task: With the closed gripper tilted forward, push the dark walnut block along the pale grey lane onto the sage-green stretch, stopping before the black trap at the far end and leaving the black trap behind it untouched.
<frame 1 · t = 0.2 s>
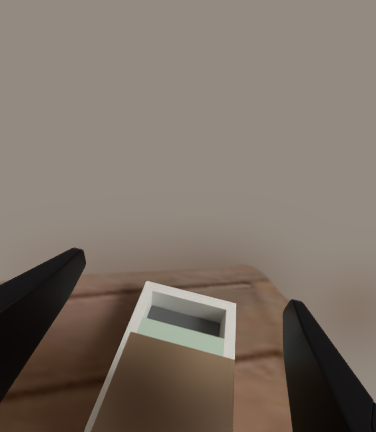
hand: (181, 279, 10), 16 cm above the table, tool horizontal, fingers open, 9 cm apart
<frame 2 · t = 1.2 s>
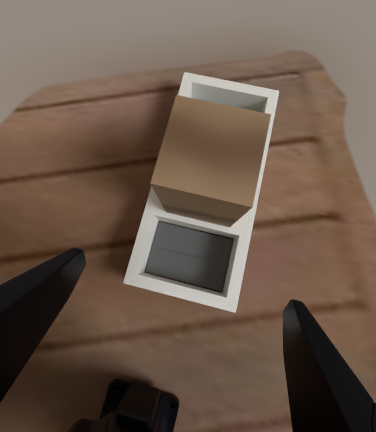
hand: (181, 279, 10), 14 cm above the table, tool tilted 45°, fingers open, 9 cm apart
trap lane: (205, 189, 24), on the table
walnut block: (204, 189, 21), point 3 cm above the table, touching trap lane
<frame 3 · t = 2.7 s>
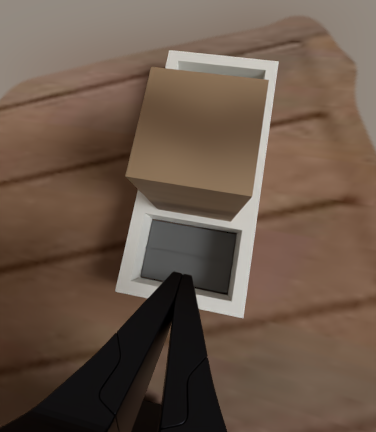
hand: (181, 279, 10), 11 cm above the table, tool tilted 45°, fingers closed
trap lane: (202, 180, 22), on the table
walnut block: (200, 180, 19), point 3 cm above the table, touching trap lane
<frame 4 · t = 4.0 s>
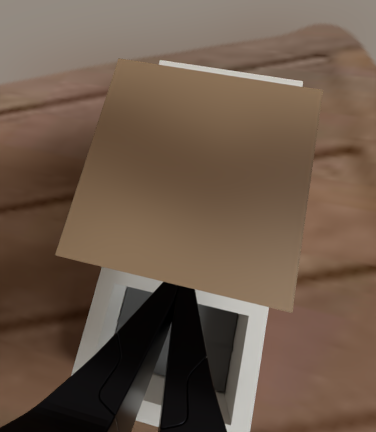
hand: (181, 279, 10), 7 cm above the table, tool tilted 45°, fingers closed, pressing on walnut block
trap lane: (196, 229, 17), on the table
walnut block: (197, 219, 14), point 3 cm above the table, touching gripper
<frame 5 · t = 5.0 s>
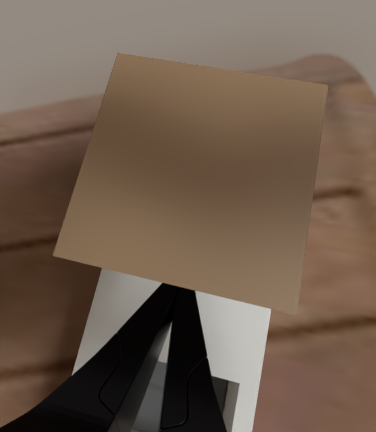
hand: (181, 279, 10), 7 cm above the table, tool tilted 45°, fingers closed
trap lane: (188, 276, 16), on the table
walnut block: (198, 218, 14), point 3 cm above the table, touching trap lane
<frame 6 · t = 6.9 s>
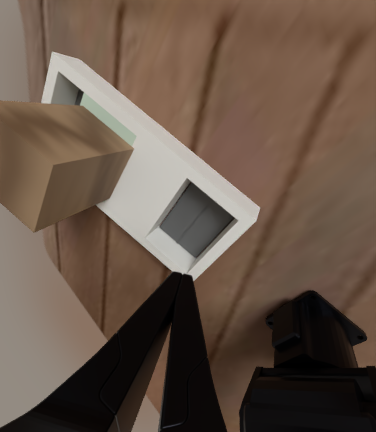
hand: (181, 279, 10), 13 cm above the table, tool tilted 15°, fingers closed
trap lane: (144, 173, 24), on the table
walnut block: (97, 155, 21), point 3 cm above the table, touching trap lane
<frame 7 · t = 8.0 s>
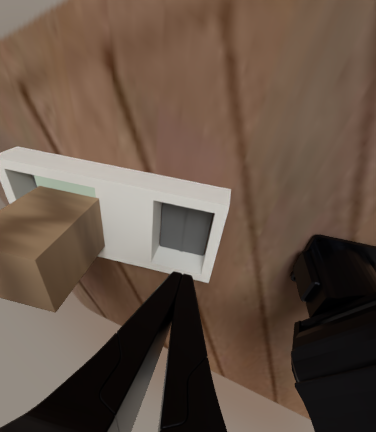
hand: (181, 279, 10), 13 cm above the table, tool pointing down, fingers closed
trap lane: (121, 209, 25), on the table
walnut block: (74, 217, 23), point 3 cm above the table, touching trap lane
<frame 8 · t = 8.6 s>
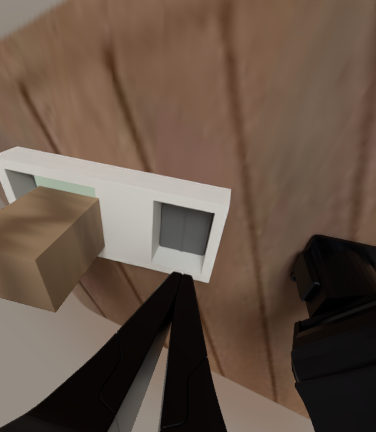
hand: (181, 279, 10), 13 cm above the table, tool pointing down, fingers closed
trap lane: (121, 209, 25), on the table
walnut block: (74, 217, 23), point 3 cm above the table, touching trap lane
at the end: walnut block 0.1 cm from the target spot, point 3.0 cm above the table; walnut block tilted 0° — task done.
